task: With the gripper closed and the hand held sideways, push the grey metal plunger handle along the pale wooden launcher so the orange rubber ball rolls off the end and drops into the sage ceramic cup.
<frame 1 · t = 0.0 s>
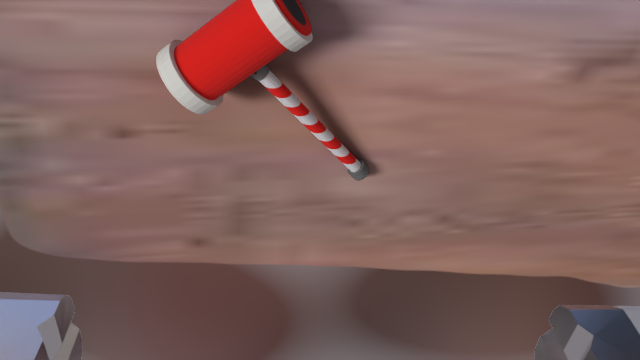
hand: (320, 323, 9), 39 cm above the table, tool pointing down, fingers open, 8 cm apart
toy hammer: (282, 73, 51), on the table
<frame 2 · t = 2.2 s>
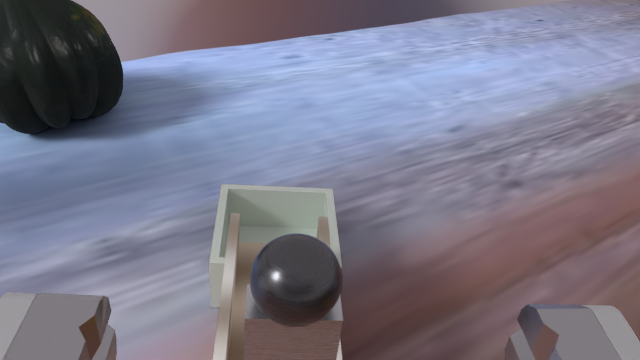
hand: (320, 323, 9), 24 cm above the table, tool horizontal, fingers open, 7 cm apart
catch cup: (274, 264, 45), on the table
squash: (53, 116, 60), on the table
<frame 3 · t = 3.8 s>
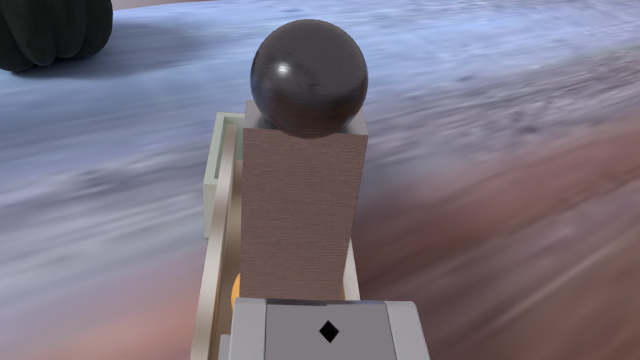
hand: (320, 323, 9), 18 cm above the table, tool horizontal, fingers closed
plunger: (291, 259, 17), point 14 cm above the table, slide at 0.0 cm
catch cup: (274, 199, 41), on the table
squash: (38, 57, 57), on the table
launcher: (272, 301, 33), on the table
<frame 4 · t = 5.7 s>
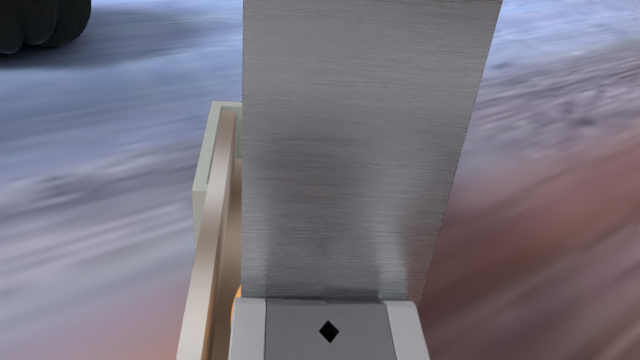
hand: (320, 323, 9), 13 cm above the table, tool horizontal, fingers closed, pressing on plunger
plunger: (330, 258, 10), point 14 cm above the table, slide at 1.8 cm, touching gripper
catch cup: (284, 209, 33), on the table
squash: (5, 46, 49), on the table
launcher: (286, 348, 24), on the table
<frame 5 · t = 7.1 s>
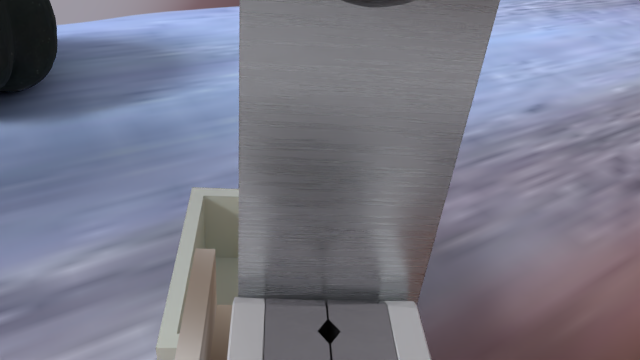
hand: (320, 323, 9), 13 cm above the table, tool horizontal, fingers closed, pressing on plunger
plunger: (327, 261, 10), point 14 cm above the table, slide at 10.7 cm, touching gripper
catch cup: (284, 329, 25), on the table
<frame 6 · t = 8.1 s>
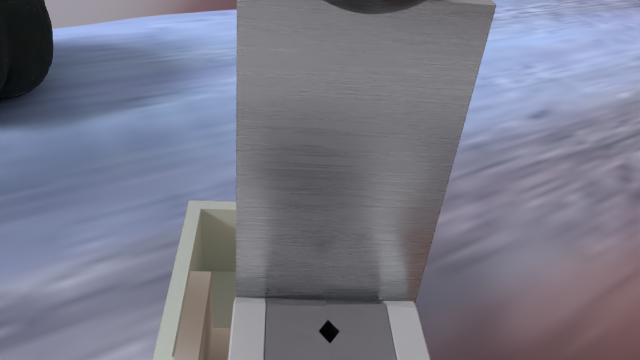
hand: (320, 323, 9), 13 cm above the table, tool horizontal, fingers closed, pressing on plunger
plunger: (325, 265, 10), point 14 cm above the table, slide at 11.6 cm, touching gripper
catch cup: (284, 346, 25), on the table
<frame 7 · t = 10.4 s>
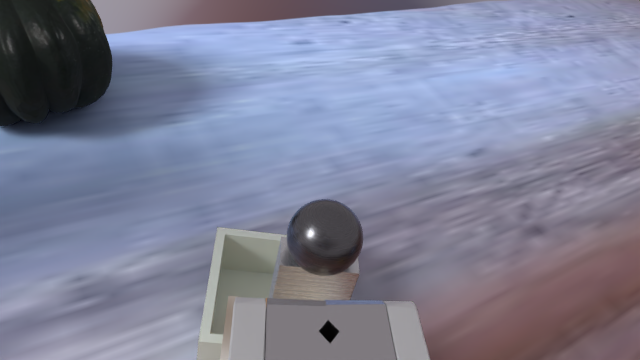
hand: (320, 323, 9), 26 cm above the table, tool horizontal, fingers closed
plunger: (298, 326, 24), point 14 cm above the table, slide at 11.6 cm
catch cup: (270, 323, 40), on the table
squash: (29, 101, 53), on the table
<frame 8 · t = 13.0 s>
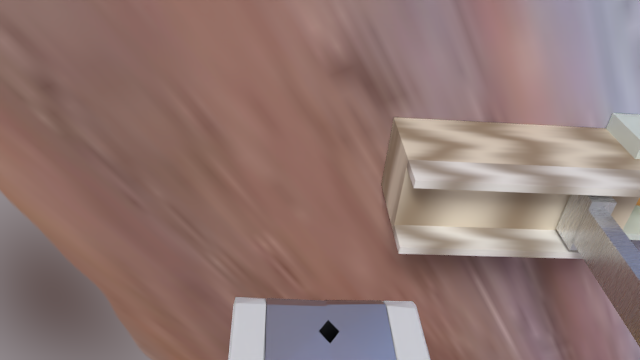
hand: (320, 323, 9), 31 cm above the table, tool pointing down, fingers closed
plunger: (625, 277, 35), point 14 cm above the table, slide at 11.6 cm
launcher: (529, 158, 46), on the table
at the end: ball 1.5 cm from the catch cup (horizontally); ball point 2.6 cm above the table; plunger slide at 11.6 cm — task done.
